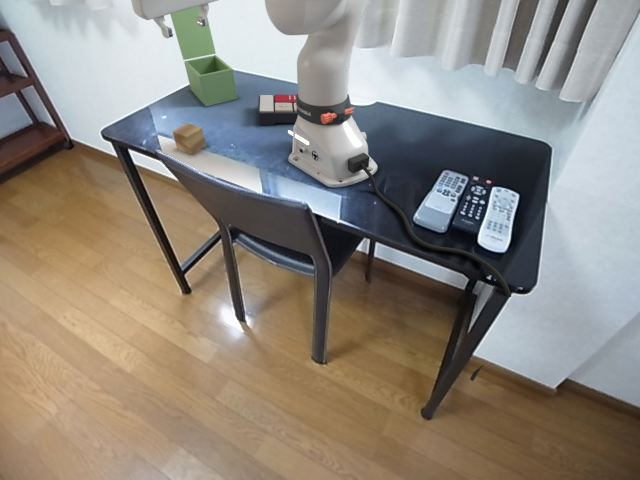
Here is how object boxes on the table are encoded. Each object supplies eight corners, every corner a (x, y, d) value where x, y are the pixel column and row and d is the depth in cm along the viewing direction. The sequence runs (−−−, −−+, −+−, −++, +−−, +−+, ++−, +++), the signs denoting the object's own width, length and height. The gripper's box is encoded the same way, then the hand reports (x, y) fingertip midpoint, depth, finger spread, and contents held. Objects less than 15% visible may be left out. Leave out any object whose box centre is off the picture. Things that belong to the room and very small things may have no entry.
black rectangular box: (313, 110, 100) (257, 110, 99) (313, 125, 103) (258, 125, 102) (310, 93, 108) (258, 92, 107) (310, 107, 111) (259, 107, 110)
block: (206, 145, 95) (201, 127, 91) (192, 155, 92) (187, 136, 88) (191, 140, 96) (186, 122, 93) (177, 149, 93) (172, 131, 90)
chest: (237, 98, 114) (232, 69, 108) (205, 106, 110) (199, 76, 104) (221, 83, 122) (215, 55, 116) (191, 90, 118) (183, 61, 112)
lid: (203, -1, 107) (202, -1, 108) (168, 4, 103) (167, 4, 104) (215, 53, 115) (215, 53, 116) (183, 59, 112) (183, 59, 112)
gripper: (131, -32, 67) (154, 48, 77) (219, -49, 78) (229, 23, 88) (112, -39, 70) (136, 40, 80) (200, -55, 80) (211, 16, 91)
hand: (186, 31), depth 84 cm, fingers open, 8 cm apart
